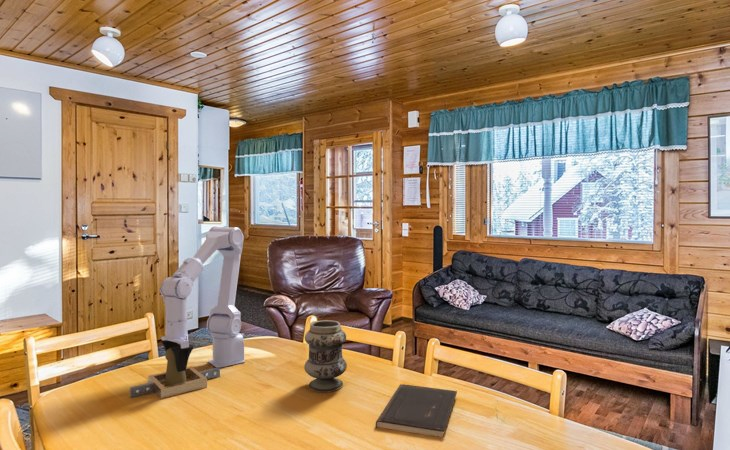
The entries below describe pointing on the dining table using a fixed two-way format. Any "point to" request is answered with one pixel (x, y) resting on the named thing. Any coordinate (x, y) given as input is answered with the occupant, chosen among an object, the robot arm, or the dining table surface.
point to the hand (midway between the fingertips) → (177, 367)
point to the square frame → (163, 392)
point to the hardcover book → (418, 410)
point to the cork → (173, 370)
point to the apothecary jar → (325, 355)
